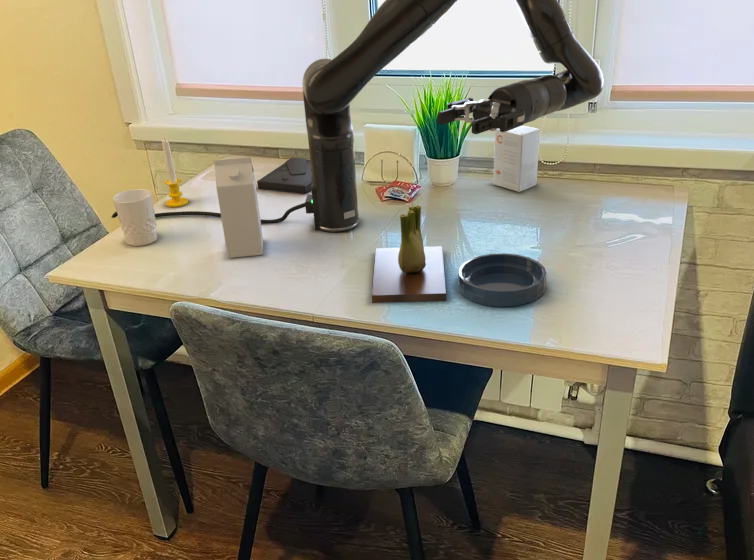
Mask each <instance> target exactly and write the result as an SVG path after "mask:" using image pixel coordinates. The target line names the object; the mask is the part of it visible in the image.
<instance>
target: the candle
mask: <svg viewBox="0 0 754 560" xmlns="http://www.w3.org/2000/svg"><path fill="white" fill-rule="evenodd" d="M161 144H162V151H163V156H164V160H165V166H166V171H167V177H168V179H167V180H165V181H164V184H165V185H168V187H169V193H168V198H169V199H168V200H167V201H166V202H165V205H166V206H167V207H168V208H180V207H184V206H186V205H188V204H189V199H188V198H186V197H182V196H183V191H180V186H179V184H180V183H182V179H181V178H177V175H176V171H175V165H174V160H173V155H172V150H171V145H170V141H169V140H168V139H166V138H163V139H162V140H161Z"/></svg>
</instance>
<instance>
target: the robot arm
mask: <svg viewBox="0 0 754 560" xmlns="http://www.w3.org/2000/svg"><path fill="white" fill-rule="evenodd" d="M457 2H458V0H384V1H383V2H382V3H381V5H380V6H379V7H378V8H377V10H376V11H375V12H374V14H373V15H372V16H371V18H370V19H369V21H368V22H367V23H366V25H365V27H364V28H363V29H362V31H361V32H360V34H358V36H357V37H356V38H355V40H354V41H352V43H351V44H349V45H348V46H347V47H346V48H345V49H344V50H343V51H341V52H340V53H338V55H336V56H335V57H334V58H319V59H316V60H315V61H313V62H311V63H310V64H309V65H308V66H307V68H306V69H305V71H304V72H303V77H302V84H301V86H302V96H303V97H302V98H303V107H304V108H303V109H304V116H305V127H306V133H307V140H308V151H309V160H310V163H311V174H312V186H311V191H310V192H311V194H307V195H306V198H305V201H304V202H302V203H300V204H297V205H294V206H292V207H290V208H288V209H287V210H286V211H285V212H284V214H283V215H282V216H281V217H279V218H274V219H261V218H260V220H261V225H262V224H263V225H266V224H271V225H272V224H279V223H282V222H284V221H285V220H286V219H287V218H288V217H289V215H290V214H291V213H293V212H295V211H298V210H300V209H304V208H305V214H313V221H314V223H313V225H314V230H316V231H323V232H327V233H328V232H329V233H340V232H346V231H350V230H352V229H354V228H356V227H357V226H359V224H360V218H359V203H358V190H357V188H358V187H357V172H356V157H355V156H356V154H355V138H354V129H353V123H352V122H353V121H352V115H351V102H352V101H353V100H354V99H355V98H356V97H357V96H358V95H359V93H361V91H362V90H363V89H365V87H366V86H367V85H368V84H369V83H370V81H372V79H373V78H374V77H375V76H377V74H379V72H381V71H382V70H383V69H384V68H385V67H386V66H388V65H389V64H390V63H391V62H393V61H394V60H395V59H396V58H398V57H399V56H401V54H402V53H403V52H405V51H406V50H407V49H408V48H409V47H411V46H412V45H413V44H414V43H416V42H417V41H418V39H420V38H421V37H422V36H424V34H426V33H427V32H428V31H429V30H430V29H431V28H432V27H434V26H435V25H436V24H437V23H438V22H439V21H440V20H441V19H442V18H443V17H444V16H445V15H446V14H447V13H448V12H449V11H450V10H451V8H452V7H453V6H454V5H455V4H456V3H457ZM514 3H515V4H516V6H517V9H518V11H519V13H520V15H521V18H522V20H523V22H524V24H525V27H526V28H527V31H528V32H529V35H530V37H531V39H532V42H533V43H534V46H535V47H536V50H537V52H538V54H539V56H540V58H541V59H542V61H543V63H545V64H549V65H550V64H561V65H562V66H563V67H564V68H565V70H562V71H560V72H558V73H555V74H546V75H542V76H538V77H534V78H530V79H523V80H519V81H516V82H512V83H509V84H505V85H502V86H498V87H496V88H494V90H492V91H491V92H490V93H489V94H490V95H489V96H488V98H483V99H480V100H474V98H473V97H467V98H463V99H459V100H456V101H452V102H448V103H446V109H443V110H440V111H438V112H437V115H436V116H437V117H436V118H437V125H440V126H443V125H447V124H451V123H453V122H457V121H459V122H460V121H464V122H465V123H466V124H471V133H472V135H473V134H474V135H479V134H481V133H485V132H488V131H491V132H495V130H497V129H500V132H506V131H509V130H511V129H514V128H517V127H519V126H522V125H524V126H525V124H528V123H531V122H534V121H536V120H537V119H539V118H541V117H545V116H547V115H548V116H549V115H550V114H554V113H555V112H560V111H564V110H568V109H570V108H573V107H576V106H578V105H580V104H583V103H585V102H589V101H591V100H593V99H595V98H597V97H598V96H600V94H601V93H602V91H603V88H604V83H605V80H604V74H603V71H602V68H601V67H600V65H599V64H598V62H597V61H596V60H595V58H594V57H593V56H592V55H591V54H590V53H589V51H588V50H587V49H586V47H584V45H583V44H582V43H581V42H580V41H579V40H578V39H577V38H576V35H575V33H574V31H573V29H572V27H571V25H570V22H569V20H568V18H567V15H566V13H565V12H564V9H563V8H562V6H561V3H560V2H559V1H558V0H514ZM470 114H472V117H470ZM178 216H205V217H215V218H221V213H220V212H214V211H202V210H201V211H197V210H195V211H193V210H191V211H190V210H188V211H186V210H185V211H183V210H182V211H167V212H166V211H165V212H158V213H155V218H163V217H178ZM117 217H118V214H117V211H115V212H113V214H112V215H111V219H115V218H117Z"/></svg>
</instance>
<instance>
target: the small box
mask: <svg viewBox="0 0 754 560" xmlns="http://www.w3.org/2000/svg"><path fill="white" fill-rule="evenodd" d="M540 134H541V129H540V128H537V127H532V126H528V125H525V124H524V125H522V126H519V127H517V128H514V129H511V130H509V131H506V132H500V129H497V130H495V131H494V147H493V148H494V151H493V153H494V154H493V175H492V177H493V178H492V184H493V185H494V186H497V187H500V188H503V189H504V188H505V189H508V190H510V191H514V192H516V193H517V192H518V193H520V192H523V191H526V190H528V189H530V188H532V187H535V186H537V183H538V182H537V181H538V180H537V179H538V168H539V167H538V166H539V154H540V153H539V152H540V151H539V150H540V137H541V135H540Z"/></svg>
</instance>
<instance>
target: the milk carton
mask: <svg viewBox="0 0 754 560" xmlns="http://www.w3.org/2000/svg"><path fill="white" fill-rule="evenodd" d="M213 162H214V174H215V175H214V176H215V187H216V194H217V200H218V205H219V213H221V217H220V218H221V224H222V230H223V236H224V237H223V238H224V243H225V247H226V248H225V249H226V254H227V255H226V256H227V258H228V259H233V258H242V257H243V258H245V257H254V256H262V255H263V254H264V237H263V227H262V223H261V220H260V219H261V213H260V207H259V206H260V205H259V200H258V199H259V197H258V192H257V184H256V183H257V182H256V177H255V170H254V166H253V162H252V157H251V156H247V157H246V156H245V157H233V158H224V159H214V160H213Z"/></svg>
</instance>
